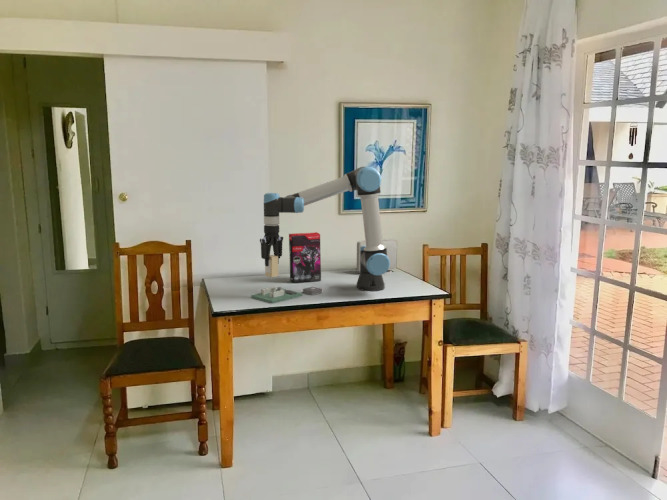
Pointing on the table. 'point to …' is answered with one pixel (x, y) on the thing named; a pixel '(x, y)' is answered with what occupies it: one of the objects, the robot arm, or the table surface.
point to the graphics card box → (305, 257)
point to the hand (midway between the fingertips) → (271, 271)
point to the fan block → (312, 290)
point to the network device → (391, 252)
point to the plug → (273, 266)
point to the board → (276, 295)
